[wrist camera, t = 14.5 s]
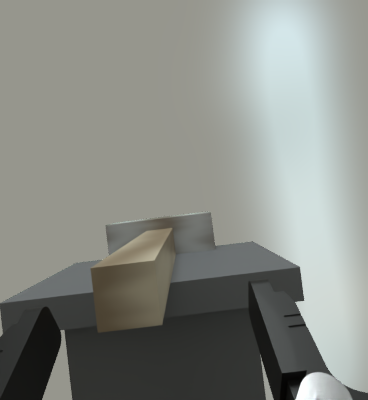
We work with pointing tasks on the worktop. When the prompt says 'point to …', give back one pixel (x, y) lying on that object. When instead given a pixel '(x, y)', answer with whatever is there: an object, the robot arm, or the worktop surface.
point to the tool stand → (167, 329)
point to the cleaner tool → (144, 267)
